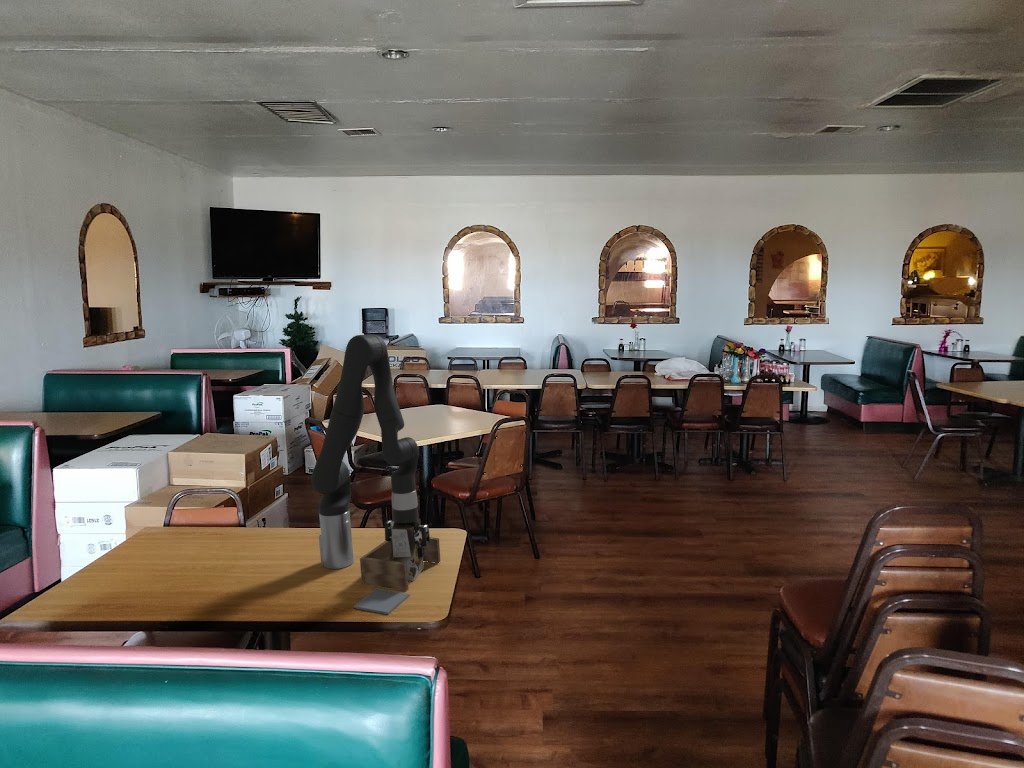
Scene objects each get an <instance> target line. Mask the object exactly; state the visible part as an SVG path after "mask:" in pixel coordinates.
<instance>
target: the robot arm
mask: <svg viewBox="0 0 1024 768" xmlns="http://www.w3.org/2000/svg"><path fill="white" fill-rule="evenodd" d="M344 351H345V352H344V355H343V356H344V358H343V363H342V368H341V369H342V370H341V376H340V380H339V383H338V388H337V391H336V396H335V397H334V398H335V399H334V403H333V405H332V409H331V413H330V416H329V421H328V424H327V428H326V431H325V435H324V439H323V442H322V443H323V444H322V446H321V450H320V453H319V456H318V458H317V460H316V463H315V464H314V468H313V470H312V473H311V478H310V479H311V485H312V488H313V489H314V491H315V492H317V493H318V494H320V495H322V498H321V499H320V502H319V504H318V515H319V526H320V535H318V544H319V555H320V562H321V563H320V565H321V566H324V567H325V568H326V569H329V570H330V569H332V570H336V569H342V568H347V567H348V566H350V565H352V564H353V563H354V562H355V558H354V548H353V546H354V545H353V535H352V525H351V517H350V516H351V513H350V501H351V498H352V495H351V494H352V492H351V476H350V475H351V474H350V470H349V468H348V465H347V464H346V462H344V457H345V455H346V453H347V451H348V449H349V448H350V446H351V444H352V443H353V441H354V439H355V437H356V436H357V433H358V431H359V429H360V427H361V423H362V420H363V418H364V417H363V416H364V413H365V399H364V395H363V389H362V387H363V381H364V377H365V374H366V371H367V368H368V367H369V369H370V371H371V374H372V376H373V382H374V394H373V407H374V411H375V416H376V418H377V422H378V425H379V428H380V432H381V433H380V434H381V435H380V437H381V450H382V452H381V453H382V456H383V458H384V460H385V461H386V463H387V464H389V465H391V466H394V467H396V466H398V468H396V470H394V471H392V473H391V475H390V482H391V506H392V509H391V510H392V519H389V520H388V521H386V522H384V541H389V542H390V543H391V545H392V553H393V544H392V528H393V527H394V526H395V525H396V524H399V525H411V526H414V528H415V533H416V532H418V536H417V537H415V543H416V545H417V546H418V547H417V551H418V559H422V558H423V557H424V555H425V548H424V546H427V545H428V544H429V543H430V537H431V536H430V528H429V525H428V524H427V523H426V524H424V525H423V524H421V525H419V523H418V519H420V518H419V517H420V516H419V507H418V506H419V505H418V504H419V502H418V494H417V490H416V489H417V487H416V472H417V466H418V460H419V456H420V455H419V453H420V451H419V449H420V448H419V445H418V444H417V441H416V440H415V439H413V438H412V437H409V436H406V437H402V438H399V439H398V437H399V436H398V434H399V432H400V431H401V430H403V429H404V428H405V421H404V417H403V415H402V412H401V409H400V408H401V407H400V405H399V403H398V399H397V395H396V392H395V388H394V383H393V376H392V371H391V370H392V369H391V365H390V357H389V352H388V347H387V344H386V341H385V340H384V339H383V337H382V336H380V335H378V334H370V333H369V334H368V333H367V334H357V335H354V336H352V337H351V338H350V339H349V340H348V341H347V344H346V346H345V350H344ZM418 530H420V532H419V531H418ZM420 533H421V534H422V535H421V534H420Z"/></svg>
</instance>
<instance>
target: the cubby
mask: <svg viewBox="0 0 1024 768" xmlns="http://www.w3.org/2000/svg"><path fill="white" fill-rule="evenodd" d="M440 546H441V545H440V538H439V537H433V536H430V543H429V544H428V545H427V546H424V548H425V555H424V557H423V561H428V562H427V563H429V562H435V563H434V564H436V563H439V562H440V561H441V549H440V548H441V547H440ZM359 563H360V565H359V566H360V576H361V585H366V586H372V587H380V588H386V589H391V590H396V591H397V590H398V591H402V592H403V591H405V592H407V591H409V581H408V575H407V563H402V562H395V561H394V558H393V553H392V545H391V543H390V542H389V541H386V540H384V541H383V542H381V543H380V544H379V545H377V546H376V547H374V548H373V549H371V550H370V551H368V552H367V553H366V554H364V555H362V556H361V557H359ZM440 563H441V562H440ZM440 563H439V564H440Z"/></svg>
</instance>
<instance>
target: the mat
mask: <svg viewBox="0 0 1024 768" xmlns="http://www.w3.org/2000/svg"><path fill="white" fill-rule="evenodd" d="M410 596H411V594H410V593H405V592H399V591H392V590H388V589H382V588H375V589H374V590H373V591H371V592H370V593H369V594H367V595H366V596H365V597H363V598H362V599H361V600H360V601H358V602H357V603H356V604H355V605H354V606H353V609H355V608H356V609H355V610H357V609H358V610H362V611H367V612H373V613H378V614H384V615H389V614H391V613H392V612H393V611H394V610H395V609H397V608H398V606H400V605H401V604H403V602H404V601H406V600H407V599H408V598H409V597H410Z"/></svg>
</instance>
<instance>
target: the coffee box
mask: <svg viewBox="0 0 1024 768" xmlns="http://www.w3.org/2000/svg"><path fill="white" fill-rule="evenodd" d="M421 522H422V521H421V518H418V523H419V525H422V523H421ZM418 531H419V532H420V530H418ZM420 534H421V533H420ZM421 535H422V534H421ZM417 536H418V532H416V533H415V528H414V526H411V525H399V524H396V525H395V526H394V527H393V528H392V544H393V558H394V561H395V562H402V563H407V575H408V582H409V581H410V582H414V581H416V579H417V577H418V576H419V575H420V574H421V572H422V571H423V570H424V569H425V567H424V565H425V564H424V563H425V562H423V558H422V559H418V551H417V547H418V546H417V545H416V543H415V537H417ZM423 568H424V569H423Z"/></svg>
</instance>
